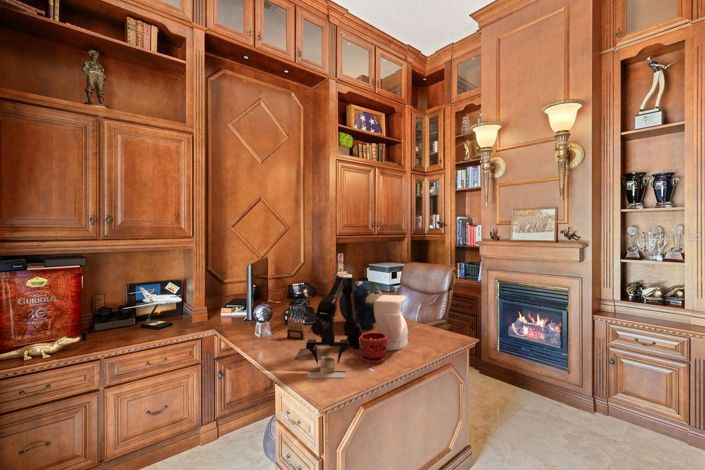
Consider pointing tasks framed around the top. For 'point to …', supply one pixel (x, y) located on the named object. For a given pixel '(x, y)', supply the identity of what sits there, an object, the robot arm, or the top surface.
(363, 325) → the globe
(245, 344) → the top surface
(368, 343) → the plant pot
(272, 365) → the top surface
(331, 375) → the mat
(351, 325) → the robot arm
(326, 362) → the collar
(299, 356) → the post stand
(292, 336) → the ammunition clip
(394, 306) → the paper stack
